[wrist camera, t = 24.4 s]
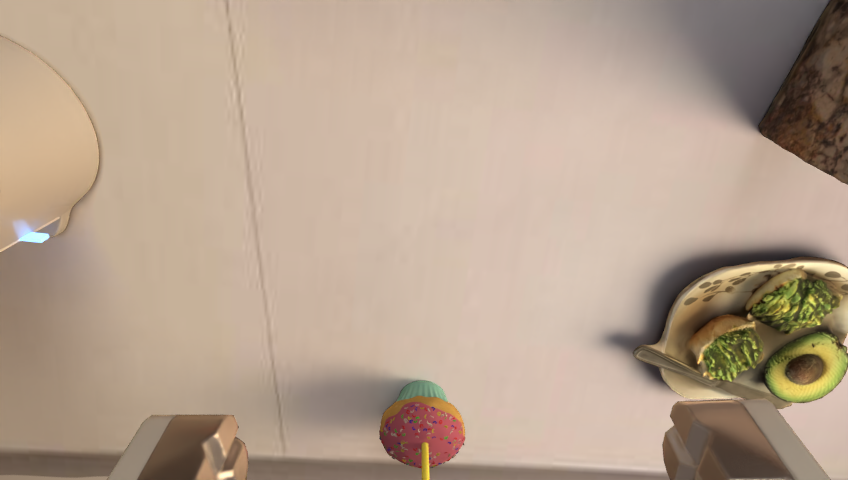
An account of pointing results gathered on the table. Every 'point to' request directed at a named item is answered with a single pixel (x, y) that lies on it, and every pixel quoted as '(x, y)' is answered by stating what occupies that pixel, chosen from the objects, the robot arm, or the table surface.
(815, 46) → the stone block
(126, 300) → the table surface
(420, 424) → the cupcake
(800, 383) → the salad plate
